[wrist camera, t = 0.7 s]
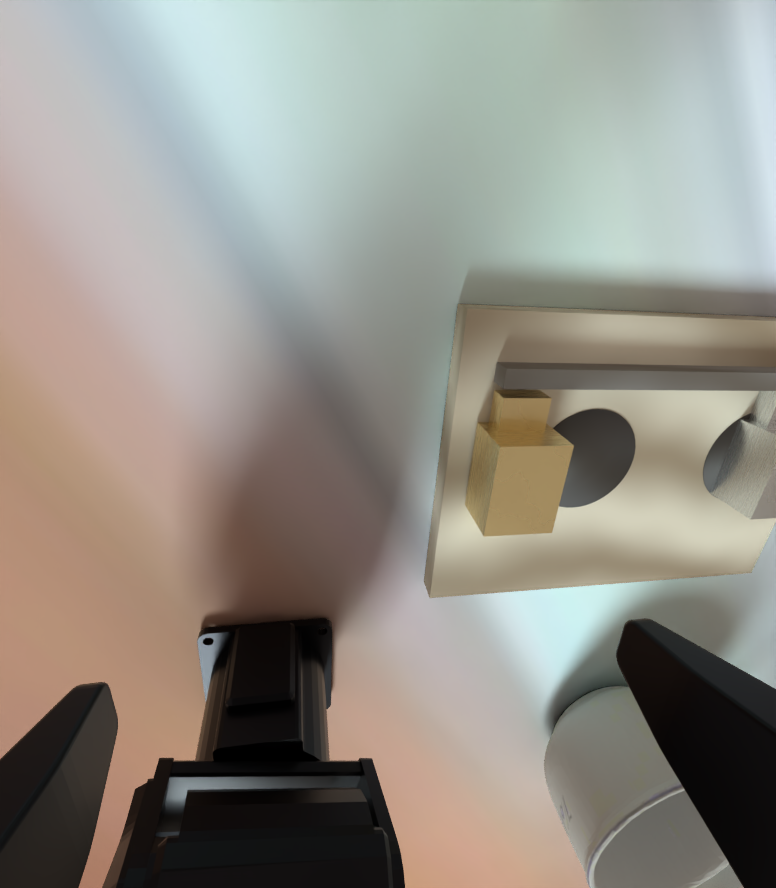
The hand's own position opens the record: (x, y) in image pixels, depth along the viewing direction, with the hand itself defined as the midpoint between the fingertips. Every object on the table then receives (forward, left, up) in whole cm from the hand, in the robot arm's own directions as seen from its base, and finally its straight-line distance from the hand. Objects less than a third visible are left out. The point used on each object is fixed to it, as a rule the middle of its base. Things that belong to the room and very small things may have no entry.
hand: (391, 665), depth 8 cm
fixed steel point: (-2, -20, -12) cm, 23 cm away
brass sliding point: (-2, -7, -11) cm, 14 cm away
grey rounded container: (-24, -20, -13) cm, 33 cm away
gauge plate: (-3, -14, -13) cm, 19 cm away
